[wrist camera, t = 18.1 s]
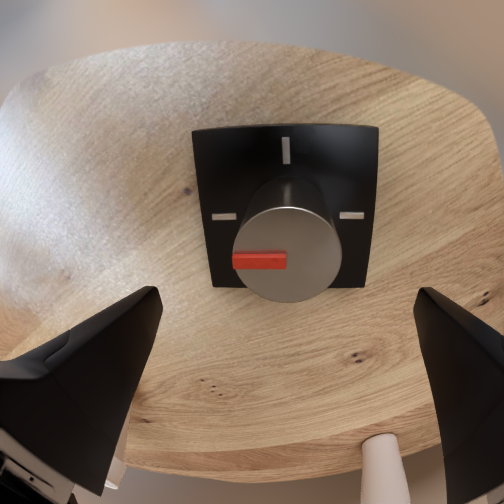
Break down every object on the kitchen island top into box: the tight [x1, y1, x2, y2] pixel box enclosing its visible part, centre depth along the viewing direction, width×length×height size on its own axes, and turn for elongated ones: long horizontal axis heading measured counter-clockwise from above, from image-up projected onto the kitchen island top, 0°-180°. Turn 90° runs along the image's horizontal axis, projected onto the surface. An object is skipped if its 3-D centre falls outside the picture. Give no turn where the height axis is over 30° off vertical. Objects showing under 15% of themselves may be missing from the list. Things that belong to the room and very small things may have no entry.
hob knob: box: [232, 177, 342, 303], centre depth 13 cm, size 4×4×5 cm
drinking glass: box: [360, 433, 411, 504], centre depth 24 cm, size 7×7×15 cm
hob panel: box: [192, 123, 379, 288], centre depth 16 cm, size 10×10×2 cm
